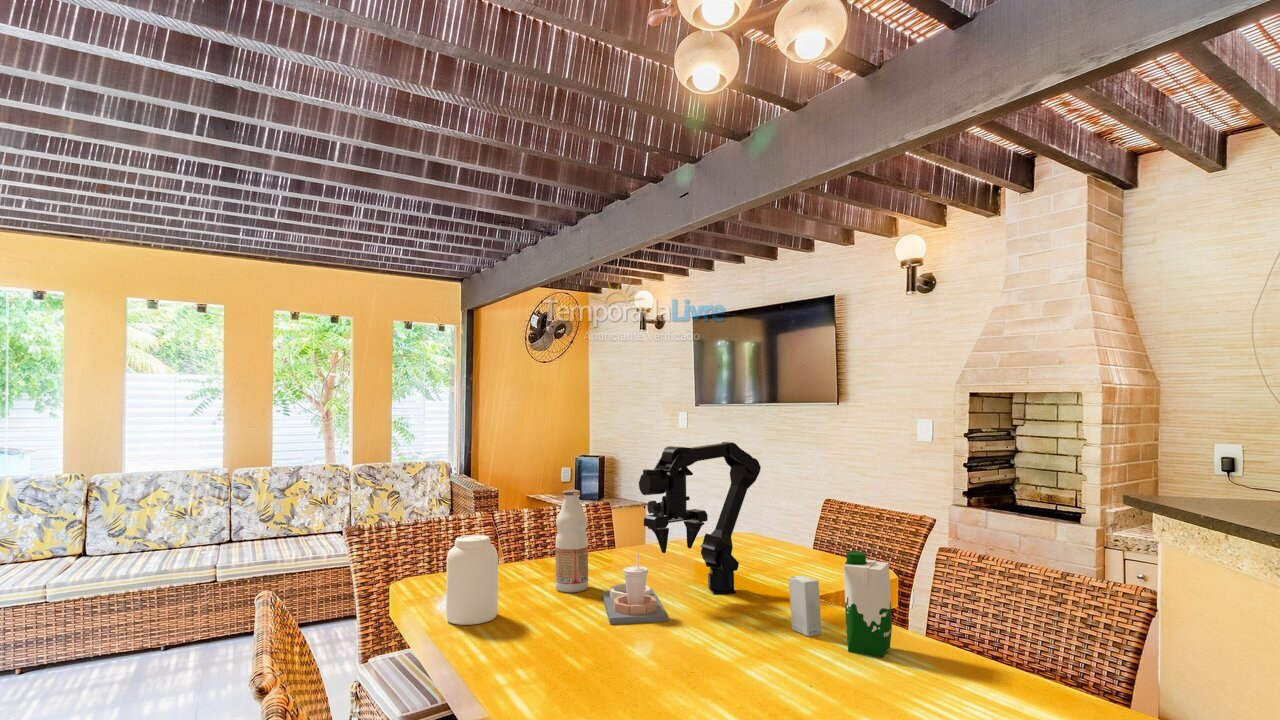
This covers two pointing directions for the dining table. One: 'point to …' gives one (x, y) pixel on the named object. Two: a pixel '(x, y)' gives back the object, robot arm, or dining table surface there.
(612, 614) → the board
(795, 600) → the skincare box
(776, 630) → the dining table surface
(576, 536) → the fruit juice
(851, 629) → the milk carton
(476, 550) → the white plastic jar
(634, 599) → the smoothie
